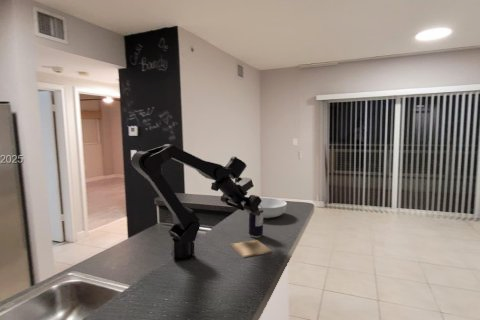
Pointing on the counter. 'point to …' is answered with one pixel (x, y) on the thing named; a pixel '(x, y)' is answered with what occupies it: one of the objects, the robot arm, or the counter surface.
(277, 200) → the serving bowl
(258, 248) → the coaster
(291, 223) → the counter surface
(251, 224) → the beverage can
